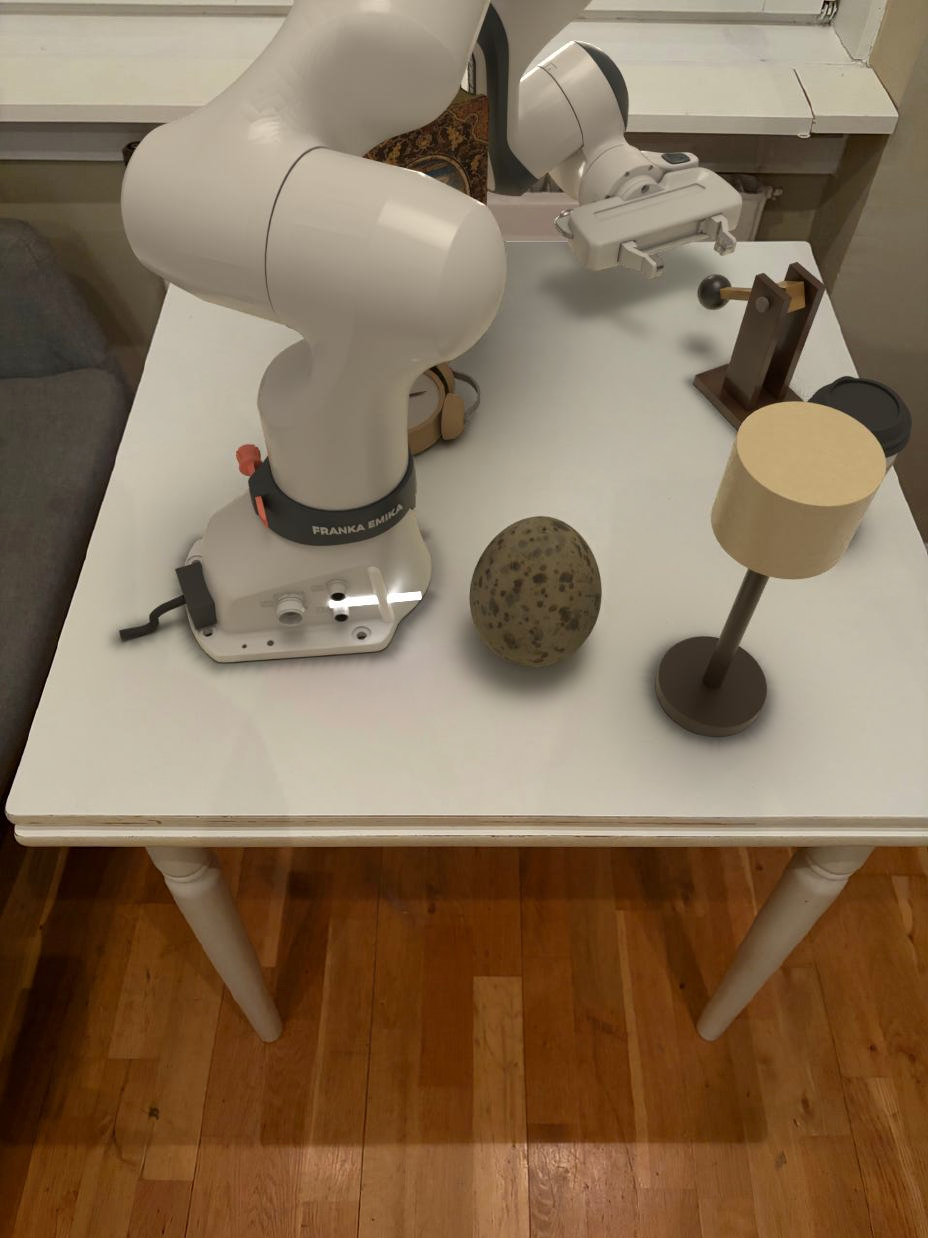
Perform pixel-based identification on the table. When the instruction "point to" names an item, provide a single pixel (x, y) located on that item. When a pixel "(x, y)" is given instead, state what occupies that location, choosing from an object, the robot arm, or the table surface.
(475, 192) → the book
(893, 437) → the coffee cup
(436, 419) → the alarm clock
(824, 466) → the lamp
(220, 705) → the table surface
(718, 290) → the lever
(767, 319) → the switch block
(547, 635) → the decorative egg
